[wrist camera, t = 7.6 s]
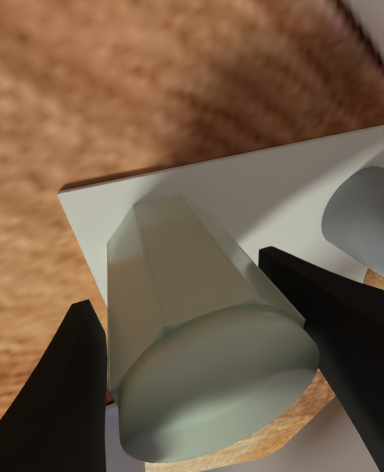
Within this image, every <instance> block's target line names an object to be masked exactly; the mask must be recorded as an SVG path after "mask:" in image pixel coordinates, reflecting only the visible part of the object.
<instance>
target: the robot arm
mask: <svg viewBox="0 0 384 472" xmlns="http://www.w3.org/2000/svg"><path fill="white" fill-rule="evenodd" d="M258 267H259V268H260V269H261V270H262V272H263V273H264V274H265V275H266V276H267V277H268V278H269V279H270V281H271V282H272V283H273V284H274V285H275V286H276V287H277V288H278V289H279V291H280V292H281V293H282V294H283V295H284V296H285V297H286V298H287V300H288V301H289V302H290V303H291V304H292V305H293V306H294V307H295V308H296V310H297V311H298V312H299V313H300V314H301V315H302V316H303V317H304V318H305V320H306V321H305V323H304V327H303V329H304V330H305V331H306V332H307V334H308V335H309V336H310V337H311V338H312V339H313V341H314V342H315V343H316V345H317V347H318V348H319V353H320V362H319V366H318V368H319V369H320V371H321V373H322V374H323V376H324V377H325V379H326V380H327V382H328V383H329V385H330V387H331V388H332V390H333V391H334V393H335V394H336V396H337V397H338V399H339V401H340V402H341V404H342V406H343V407H344V409H345V411H346V412H347V414H348V416H349V417H350V419H351V421H352V423H353V424H354V426H355V427H356V429H357V431H358V433H359V434H360V436H361V438H362V440H363V442H364V443H365V445H366V447H367V449H368V451H369V452H370V454H371V456H372V458H373V459H374V461H375V463H376V465H377V467H378V469H379V471H380V472H384V290H381V289H378V288H375V287H372V286H369V285H366V284H363V283H360V282H357V281H354V280H351V279H349V278H346V277H344V276H341V275H338V274H336V273H333V272H331V271H328V270H326V269H323V268H321V267H319V266H316V265H314V264H312V263H309V262H307V261H305V260H303V259H300V258H298V257H296V256H294V255H292V254H289V253H287V252H285V251H283V250H280V249H278V248H276V247H273V246H269V247H265V248H262V249H259V256H258ZM107 360H108V358H107V345H106V334H105V331H104V329H103V327H102V325H101V323H100V321H99V319H98V317H97V315H96V313H95V311H94V309H93V307H92V305H91V303H90V301H89V299H88V300H85V301H81V302H78V303H74V304H72V305H71V307H70V308H69V310H68V312H67V314H66V315H65V317H64V319H63V321H62V323H61V325H60V326H59V328H58V330H57V332H56V334H55V335H54V337H53V339H52V341H51V342H50V344H49V346H48V348H47V349H46V351H45V353H44V354H43V356H42V358H41V359H40V361H39V363H38V364H37V366H36V368H35V369H34V371H33V372H32V374H31V375H30V377H29V378H28V380H27V382H26V383H25V385H24V386H23V388H22V389H21V391H20V392H19V394H18V395H17V397H16V398H15V400H14V401H13V403H12V404H11V406H10V407H9V409H8V410H7V411H6V413H5V414H4V416H3V417H2V418H1V420H0V472H145V463H144V461H140V460H137V459H135V458H133V457H131V456H129V455H128V454H127V453H126V452H125V451H124V450H123V448H122V446H121V444H120V437H119V416H118V407H117V405H116V403H113V404H110V405H107V406H106V388H107Z"/></svg>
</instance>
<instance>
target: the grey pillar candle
mask: <svg viewBox="0 0 384 472" xmlns="http://www.w3.org/2000/svg"><path fill="white" fill-rule="evenodd" d="M321 229H322V234H323V236H324V238H325V239H326V240H327V241H328V242H330V243H331V244H333V245H334V246H336V247H337V248H339V249H340V250H342V251H343V252H345V253H346V254H348V255H349V256H351V257H352V258H354V259H356V260H357V261H359V262H360V263H362V264H363V265H365V266H366V267H368V268H369V269H371V270H372V271H374V272H375V273H377V274H378V275H380V276H382V277H383V278H384V167H380V166H371V167H367V168H364V169H362V170H360V171H358V172H356V173H354V174H353V175H351V176H350V177H349V178H348V179H346V180H345V181H344V182H343V183H342V184H341V185H340V186H339V187H338V188H337V190H336V191H335V192H334V194H333V195H332V196H331V198H330V200H329V201H328V203H327V205H326V207H325V210H324V213H323V216H322V222H321Z"/></svg>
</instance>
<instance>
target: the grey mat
mask: <svg viewBox="0 0 384 472" xmlns="http://www.w3.org/2000/svg"><path fill="white" fill-rule="evenodd" d="M371 166H380V167H384V125H380V126H375V127H370V128H365V129H360V130H355V131H351V132H346V133H341V134H336V135H331V136H326V137H321V138H316V139H311V140H306V141H301V142H297V143H292V144H287V145H282V146H277V147H272V148H267V149H262V150H257V151H252V152H248V153H243V154H238V155H233V156H228V157H223V158H218V159H213V160H208V161H203V162H198V163H194V164H189V165H184V166H179V167H174V168H169V169H164V170H159V171H154V172H149V173H145V174H140V175H135V176H130V177H125V178H120V179H115V180H110V181H105V182H100V183H95V184H91V185H86V186H81V187H76V188H71V189H66V190H61V191H58V193H57V195H58V198H59V200H60V202H61V204H62V207H63V209H64V211H65V213H66V216H67V218H68V220H69V222H70V225H71V227H72V229H73V231H74V234H75V236H76V238H77V240H78V243H79V245H80V247H81V249H82V252H83V254H84V256H85V258H86V261H87V263H88V265H89V267H90V270H91V272H92V274H93V276H94V279H95V281H96V283H97V285H98V288H99V290H100V292H101V294H102V297H103V299H104V301H105V303H106V306H107V242H108V241H109V240H110V238H111V237H112V235H113V234H114V232H115V231H116V229H117V228H118V226H119V225H120V223H121V222H122V220H123V219H124V218H125V216H126V215H127V213H128V212H129V210H130V209H131V207H132V205H137V204H141V203H146V202H151V201H155V200H160V199H165V198H169V197H174V196H178V195H181V196H182V197H184V198H185V199H187V200H188V201H190V202H191V203H193V204H194V205H196V206H197V207H199V208H200V209H202V210H203V211H205V212H206V213H208V214H209V215H211V216H212V217H214V218H215V219H216V220H217V221H218V222H219V224H220V225H221V226H222V227H223V228H224V229H225V230H226V231H227V232H228V234H229V235H230V236H231V237H232V238H233V239H234V240H235V241H236V243H237V244H238V245H239V246H240V247H241V248H242V249H243V250H244V251H245V253H246V254H247V255H248V256H249V257H250V258H251V259H252V260H253V262H254V263H255V264H256V265H257V266H258V256H259V249H262V248H265V247H269V246H273V247H276V248H278V249H280V250H283V251H285V252H287V253H289V254H292V255H294V256H296V257H298V258H300V259H303V260H305V261H307V262H309V263H312V264H314V265H316V266H319V267H321V268H323V269H326V270H328V271H331V272H333V273H336V274H338V275H341V276H344V277H346V278H349V279H351V280H354V281H357V282H360V283H363V280H364V277H365V275H366V272H367V269H368V267H366V266H365V265H363V264H362V263H360V262H359V261H357V260H356V259H354V258H352V257H351V256H349V255H348V254H346V253H345V252H343V251H342V250H340V249H339V248H337V247H336V246H334V245H333V244H331V243H330V242H328V241H327V240H326V239H325V238H324V236H323V234H322V229H321V222H322V216H323V213H324V210H325V207H326V205H327V203H328V201H329V200H330V198H331V196H332V195H333V194H334V192H335V191H336V190H337V188H338V187H339V186H340V185H341V184H342V183H343V182H344V181H345V180H346V179H348V178H349V177H350V176H351V175H353V174H354V173H356V172H358V171H360V170H362V169H364V168H367V167H371Z"/></svg>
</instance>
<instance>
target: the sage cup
mask: <svg viewBox="0 0 384 472" xmlns="http://www.w3.org/2000/svg"><path fill="white" fill-rule="evenodd" d="M107 312H108V393H110V394H111V396H112V398H113V400H114V401H115V403H116V405H117V407H118V416H119V437H120V444H121V446H122V448H123V450H124V451H125V452H126V453H127V454H128V455H129V456H131V457H133V458H135V459H137V460H140V461H144V462H149V463H170V462H179V461H184V460H189V459H193V458H197V457H201V456H204V455H207V454H210V453H213V452H215V451H218V450H221V449H223V448H225V447H228V446H230V445H232V444H234V443H236V442H238V441H240V440H242V439H244V438H246V437H248V436H250V435H252V434H253V433H255V432H257V431H258V430H260V429H261V428H263V427H264V426H266V425H267V424H269V423H270V422H272V421H273V420H274V419H276V418H277V417H278V416H280V415H281V414H282V413H283V412H285V411H286V410H287V409H288V408H289V407H290V406H291V405H292V404H293V403H294V402H295V401H296V400H297V399H298V398H299V397H300V396H301V395H302V394H303V393H304V391H305V390H306V389H307V387H308V386H309V385H310V383H311V382H312V380H313V378H314V376H315V374H316V372H317V369H318V366H319V362H320V353H319V348H318V347H317V345H316V343H315V342H314V341H313V339H312V338H311V337H310V336H309V335H308V334H307V332H306V331H305V330H304V329H303V327H304V323H305V321H306V320H305V318H304V317H303V316H302V315H301V314H300V313H299V312H298V311H297V310H296V308H295V307H294V306H293V305H292V304H291V303H290V302H289V301H288V300H287V298H286V297H285V296H284V295H283V294H282V293H281V292H280V291H279V289H278V288H277V287H276V286H275V285H274V284H273V283H272V282H271V281H270V279H269V278H268V277H267V276H266V275H265V274H264V273H263V272H262V270H261V269H260V268H259V267H258V266H257V265H256V264H255V263H254V262H253V260H252V259H251V258H250V257H249V256H248V255H247V254H246V253H245V251H244V250H243V249H242V248H241V247H240V246H239V245H238V244H237V243H236V241H235V240H234V239H233V238H232V237H231V236H230V235H229V234H228V232H227V231H226V230H225V229H224V228H223V227H222V226H221V225H220V224H219V222H218V221H217V220H216V219H215V218H214V217H212V216H211V215H209V214H208V213H206V212H205V211H203V210H202V209H200V208H199V207H197V206H196V205H194V204H193V203H191V202H190V201H188V200H187V199H185V198H184V197H182V196H181V195H178V196H174V197H169V198H165V199H160V200H155V201H151V202H146V203H141V204H137V205H132V207H131V209H130V210H129V212H128V213H127V215H126V216H125V218H124V219H123V220H122V222H121V223H120V225H119V226H118V228H117V229H116V231H115V232H114V234H113V235H112V237H111V238H110V240H109V241H108V242H107Z"/></svg>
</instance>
